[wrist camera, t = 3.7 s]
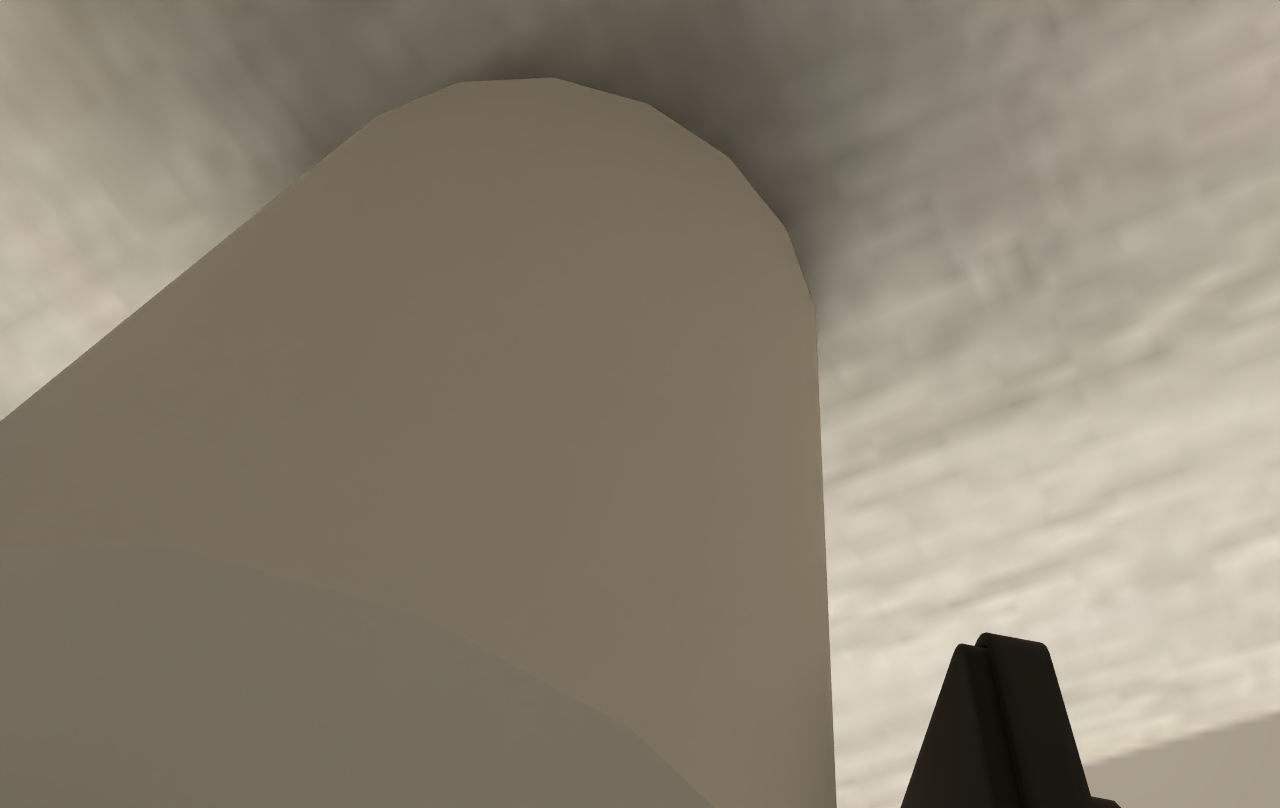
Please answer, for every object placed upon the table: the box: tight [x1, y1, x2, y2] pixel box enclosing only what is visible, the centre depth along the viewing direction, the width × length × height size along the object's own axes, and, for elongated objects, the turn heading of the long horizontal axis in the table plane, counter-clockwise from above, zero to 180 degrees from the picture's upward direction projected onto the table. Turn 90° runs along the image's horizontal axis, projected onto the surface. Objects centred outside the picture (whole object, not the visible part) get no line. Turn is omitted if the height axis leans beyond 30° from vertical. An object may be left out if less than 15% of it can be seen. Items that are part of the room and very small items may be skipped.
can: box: [0, 78, 837, 808], centre depth 11 cm, size 8×8×12 cm
